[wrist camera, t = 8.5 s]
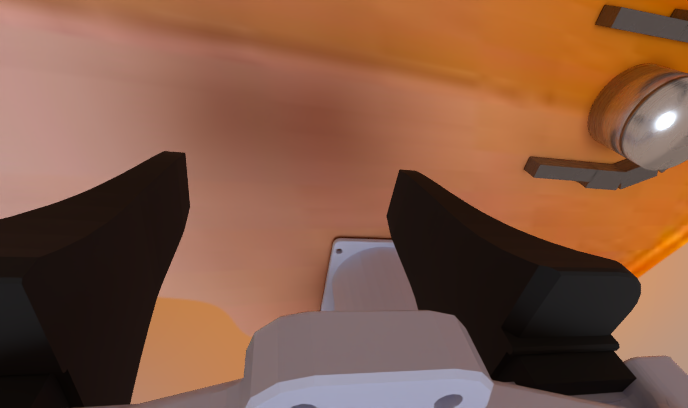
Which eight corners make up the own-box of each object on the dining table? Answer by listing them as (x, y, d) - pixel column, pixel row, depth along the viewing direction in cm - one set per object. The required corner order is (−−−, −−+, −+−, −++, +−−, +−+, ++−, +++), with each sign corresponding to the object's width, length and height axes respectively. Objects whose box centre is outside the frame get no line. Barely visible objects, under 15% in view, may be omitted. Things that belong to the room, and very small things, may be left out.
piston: (635, 146, 26) (686, 173, 23) (572, 140, 25) (616, 167, 22) (686, 69, 23) (753, 87, 20) (617, 57, 22) (675, 75, 19)
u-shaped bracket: (649, 185, 28) (662, 193, 27) (521, 175, 26) (530, 183, 25) (764, 28, 22) (786, 31, 21) (610, -6, 20) (627, -4, 19)
